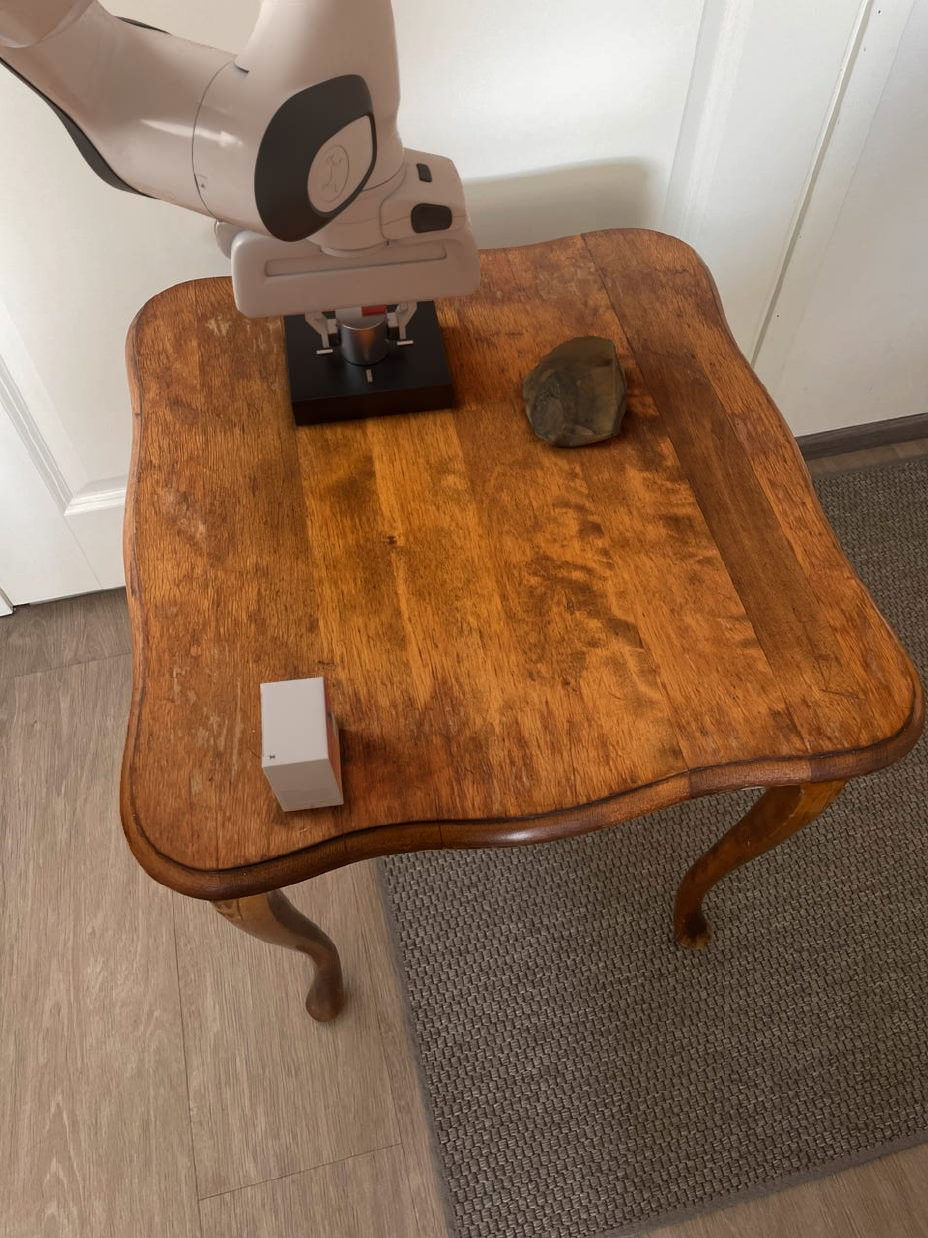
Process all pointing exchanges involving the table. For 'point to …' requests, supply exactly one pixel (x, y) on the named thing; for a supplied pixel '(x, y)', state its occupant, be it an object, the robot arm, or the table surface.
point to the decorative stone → (577, 393)
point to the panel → (367, 372)
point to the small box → (300, 744)
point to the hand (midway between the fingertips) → (364, 338)
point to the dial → (363, 333)
